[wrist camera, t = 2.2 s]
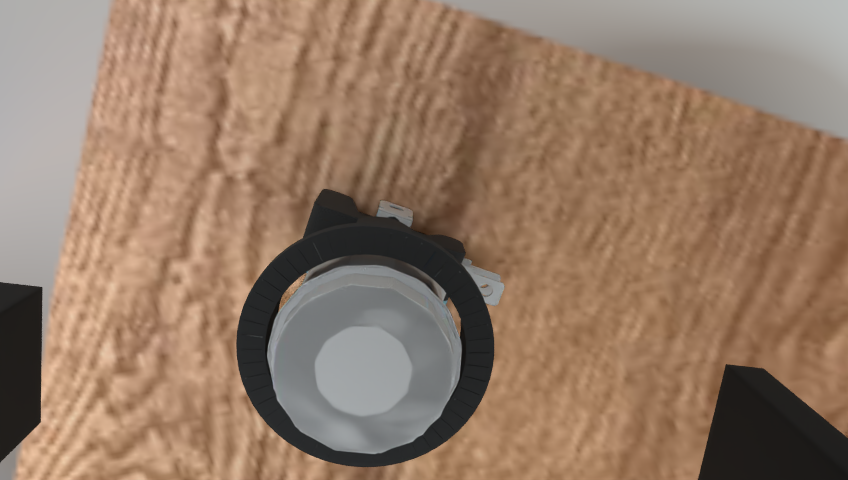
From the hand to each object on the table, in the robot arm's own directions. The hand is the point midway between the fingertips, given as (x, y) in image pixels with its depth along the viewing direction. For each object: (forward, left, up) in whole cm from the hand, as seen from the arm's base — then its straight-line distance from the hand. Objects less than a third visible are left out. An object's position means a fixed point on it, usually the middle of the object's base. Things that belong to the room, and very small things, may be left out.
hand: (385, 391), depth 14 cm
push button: (0, 0, -10) cm, 10 cm away
